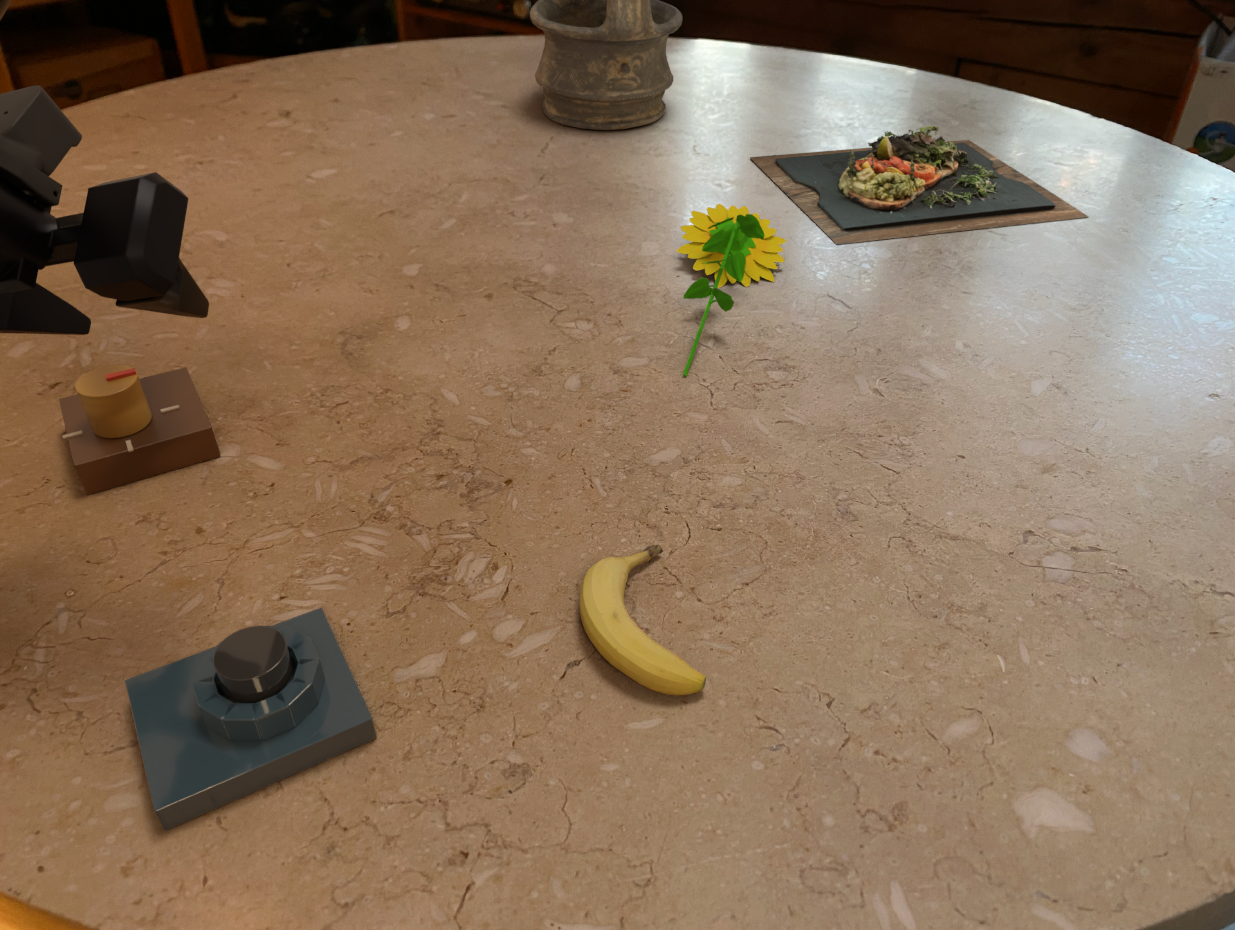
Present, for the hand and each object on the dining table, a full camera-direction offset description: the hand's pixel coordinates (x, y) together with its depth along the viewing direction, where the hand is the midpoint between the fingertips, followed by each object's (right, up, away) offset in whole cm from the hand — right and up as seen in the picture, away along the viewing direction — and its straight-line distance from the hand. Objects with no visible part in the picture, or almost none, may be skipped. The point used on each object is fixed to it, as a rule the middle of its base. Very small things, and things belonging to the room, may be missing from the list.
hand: (145, 319), depth 59 cm
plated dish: (+68, +27, +65) cm, 98 cm away
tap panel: (-10, -7, +19) cm, 22 cm away
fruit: (+31, -20, +5) cm, 37 cm away
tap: (-10, -6, +16) cm, 19 cm away
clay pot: (+28, +45, +85) cm, 100 cm away
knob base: (+8, -25, -2) cm, 26 cm away
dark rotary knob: (+9, -21, -4) cm, 23 cm away
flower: (+41, +8, +40) cm, 58 cm away
